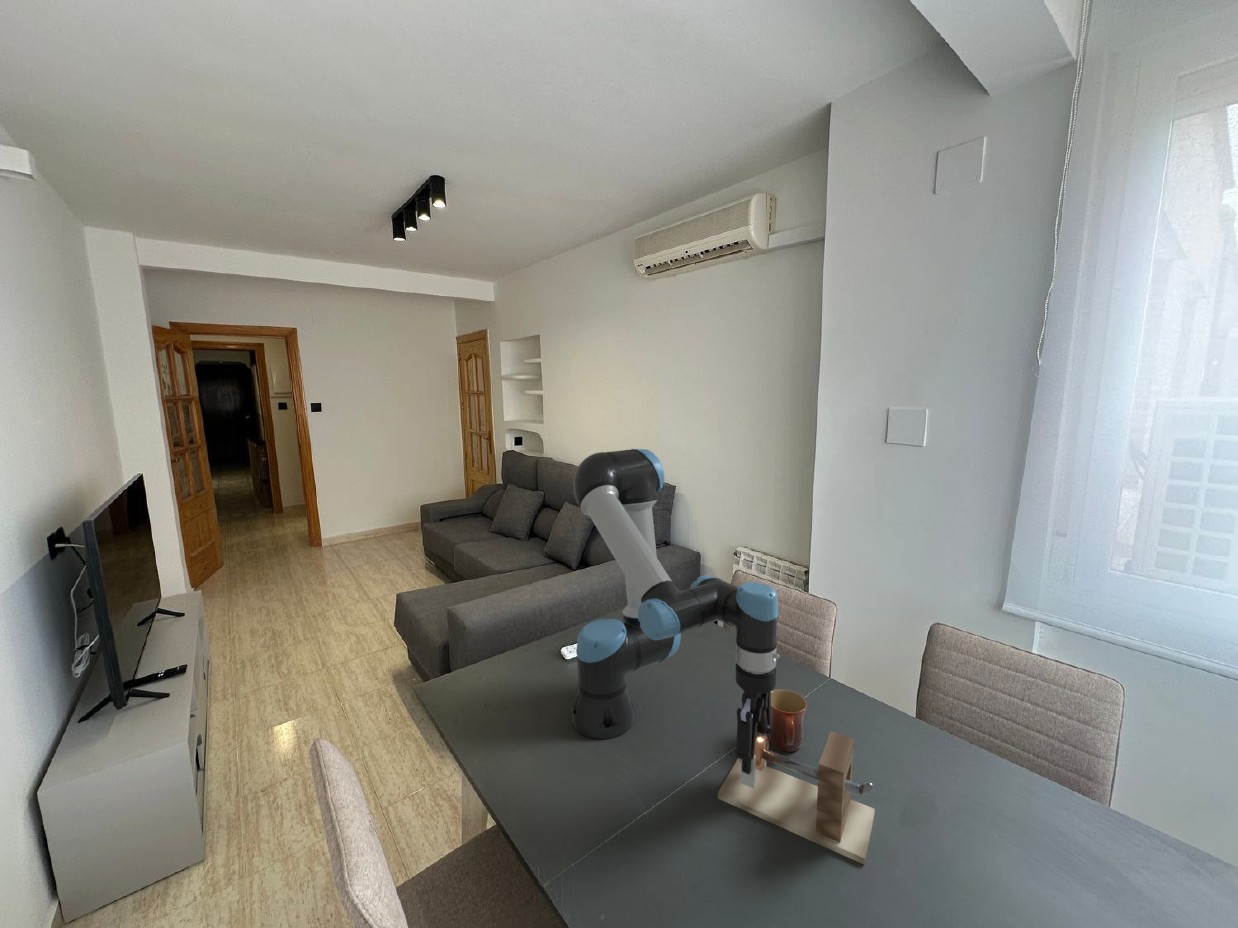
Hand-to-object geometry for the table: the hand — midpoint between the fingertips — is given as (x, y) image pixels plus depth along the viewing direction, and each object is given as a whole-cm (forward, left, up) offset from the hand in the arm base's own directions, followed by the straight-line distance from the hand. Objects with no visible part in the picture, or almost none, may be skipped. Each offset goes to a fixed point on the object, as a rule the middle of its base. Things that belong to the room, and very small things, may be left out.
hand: (753, 773), depth 100 cm
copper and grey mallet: (+9, 0, +2) cm, 9 cm away
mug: (+2, +15, -4) cm, 16 cm away
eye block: (+15, 0, -2) cm, 15 cm away
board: (+8, 0, -3) cm, 9 cm away
